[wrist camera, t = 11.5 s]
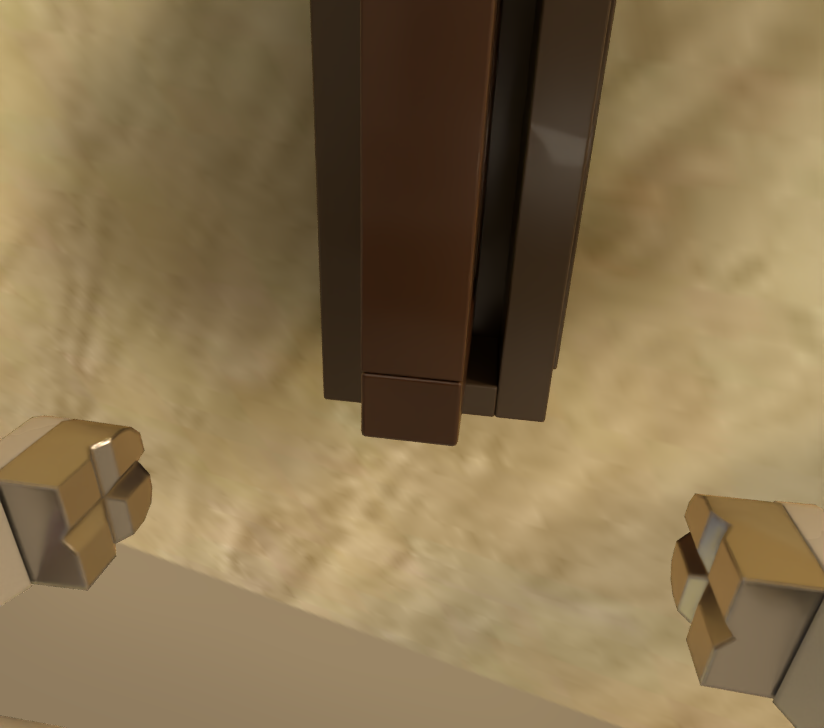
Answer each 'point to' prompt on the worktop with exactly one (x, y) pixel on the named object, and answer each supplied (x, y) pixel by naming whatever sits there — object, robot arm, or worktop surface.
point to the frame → (422, 206)
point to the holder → (504, 205)
